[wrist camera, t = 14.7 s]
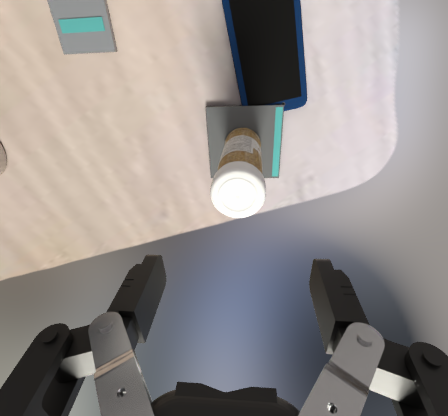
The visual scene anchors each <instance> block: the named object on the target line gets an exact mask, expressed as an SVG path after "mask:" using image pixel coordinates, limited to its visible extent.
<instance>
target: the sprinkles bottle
mask: <svg viewBox="0 0 448 416" xmlns="http://www.w3.org/2000/svg"><path fill="white" fill-rule="evenodd" d="M210 195H211V200H212V202H213V204H214V206H215V207H216V208H217V209H218V210H219V211H220V212H221V213H223V214H224V215H226V216H229V217H233V218H244V217H248V216H251V215H253V214H254V213H256V212H257V211H258V210H259V209H260V208H261V207H262V205H263V203H264V201H265V197H266V185H265V180H264V177H263V175H262V156H261V142H260V139H259V136H258V135H257V134H256V133H255V132H254V131H252V130H250V129H248V128H238V129H235V130H233V131H232V132H231V133H230V134H229V135H228V136H227V138H226V140H225V146H224V149H223V152H222V155H221V158H220V162H219V165H218V171H217V172H216V174H215V175H214V178H213V181H212V184H211V190H210Z"/></svg>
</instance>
